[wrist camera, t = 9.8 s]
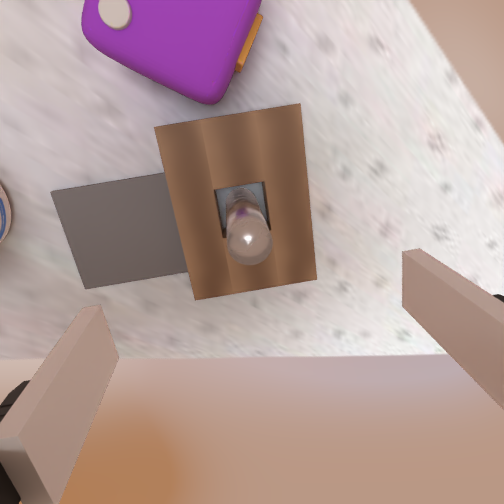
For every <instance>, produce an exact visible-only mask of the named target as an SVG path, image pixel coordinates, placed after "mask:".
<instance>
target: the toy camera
mask: <svg viewBox="0 0 504 504" xmlns="http://www.w3.org/2000/svg"><path fill="white" fill-rule="evenodd" d="M261 1H262V0H85V2H84V7H83V12H82V22H81V25H82V31H83V34H84V35H85V37H86V39H87V40H88V41H89V42H90V43H91V44H92V45H93V46H94V47H95V48H96V49H97V50H99V51H100V52H102V53H103V54H105V55H106V56H108V57H110V58H111V59H113V60H115V61H117V62H119V63H120V64H122V65H124V66H126V67H128V68H130V69H132V70H134V71H136V72H137V73H139V74H142V75H144V76H146V77H148V78H150V79H152V80H154V81H156V82H158V83H160V84H162V85H164V86H166V87H168V88H170V89H172V90H174V91H176V92H178V93H180V94H182V95H184V96H186V97H188V98H190V99H193V100H195V101H197V102H200V103H203V104H208V105H212V104H216V103H217V102H218V101H220V99H221V98H222V97H223V95H224V93H225V92H226V89H227V87H228V85H229V83H230V80H231V78H232V76H233V73H234V71H237V72H239V73H240V72H241V70H242V68H243V65H244V63H245V60H246V58H247V56H248V53H249V51H250V48H251V46H252V43H253V41H254V38H255V36H256V34H257V31H258V29H259V26H260V24H261V21H262V19H263V16H262V15H260V14H258V10H259V7H260V4H261Z"/></svg>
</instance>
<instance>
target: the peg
mask: <svg viewBox="0 0 504 504" xmlns="http://www.w3.org/2000/svg"><path fill="white" fill-rule="evenodd" d="M226 229H227V249H228V252H229V254H230V255H231V257H232V258H233V259H234V260H235V261H237V262H239V263H241V264H244V265H255V264H258V263H260V262H262V261H264V260H265V259H266V258H267V257H268V256H269V254H270V252H271V250H272V246H273V240H272V236H271V233H270V231H269V228H268V226H267V224H266V221H265V219H264V216H263V214H262V212H261V209H260V207H259V204H258V202H257V200H256V197H255V195H254V194H253V193H252V192H251V191H250V190H249V189H246V188H236V189H234V190H232V191H231V192H230V193H229V194H228V196H227V198H226Z"/></svg>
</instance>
